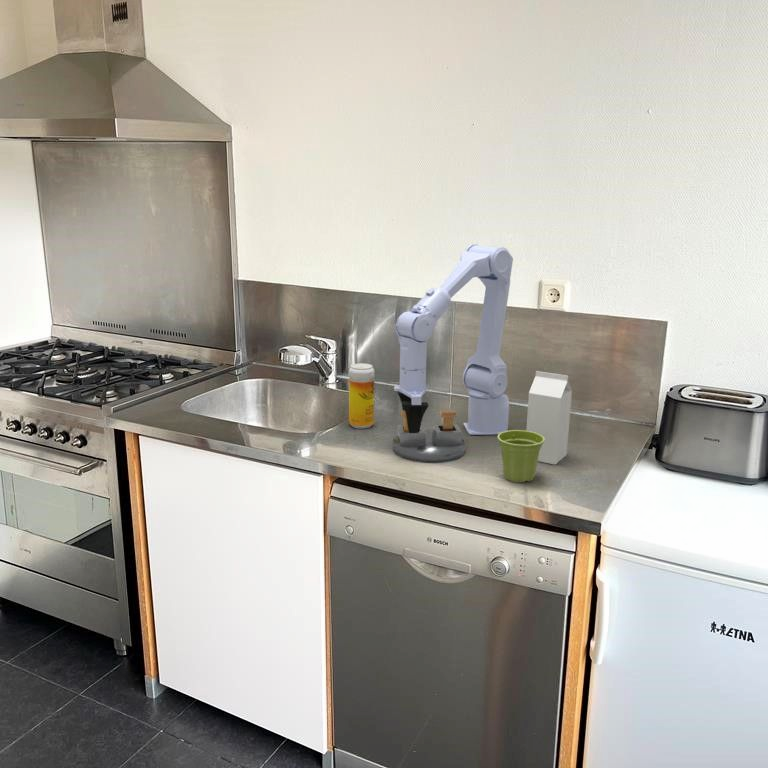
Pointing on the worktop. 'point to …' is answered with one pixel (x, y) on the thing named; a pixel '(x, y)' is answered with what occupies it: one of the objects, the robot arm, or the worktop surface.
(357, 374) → the beer can
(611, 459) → the worktop surface
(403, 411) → the wedge pin
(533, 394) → the milk carton
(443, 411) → the two socket peg base
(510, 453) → the plant pot
